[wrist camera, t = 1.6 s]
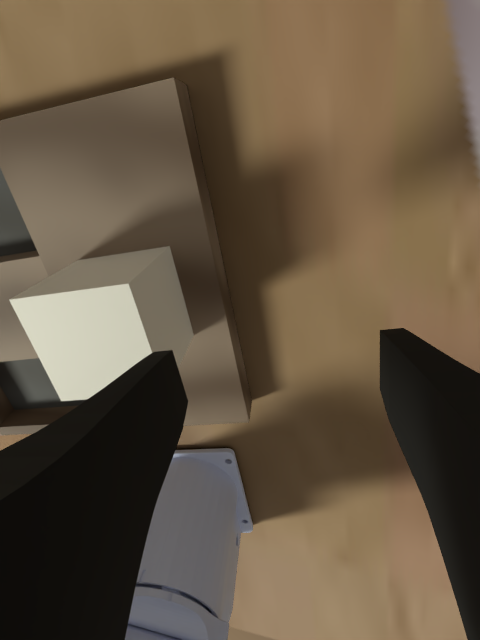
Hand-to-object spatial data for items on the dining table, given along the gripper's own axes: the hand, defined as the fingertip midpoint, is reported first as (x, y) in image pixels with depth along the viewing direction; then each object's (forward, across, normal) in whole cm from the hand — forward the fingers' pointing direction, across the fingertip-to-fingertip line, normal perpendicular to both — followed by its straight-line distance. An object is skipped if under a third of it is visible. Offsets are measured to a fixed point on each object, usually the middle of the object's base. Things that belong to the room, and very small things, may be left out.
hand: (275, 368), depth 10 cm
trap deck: (+9, +16, 0) cm, 18 cm away
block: (+7, +8, 0) cm, 11 cm away
